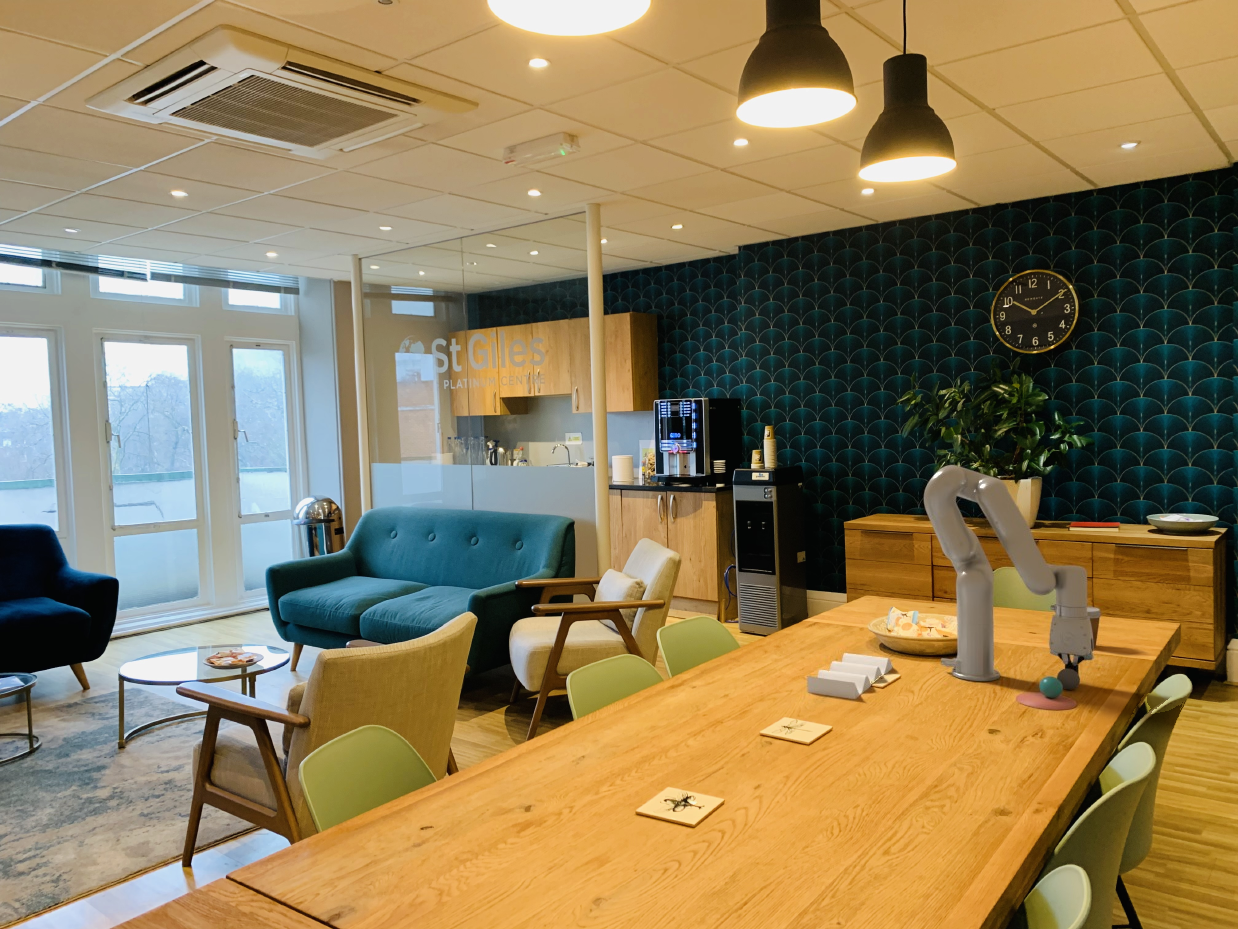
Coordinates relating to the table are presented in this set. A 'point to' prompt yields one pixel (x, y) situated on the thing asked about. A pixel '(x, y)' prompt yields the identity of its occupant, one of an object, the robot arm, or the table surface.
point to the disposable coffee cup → (1094, 622)
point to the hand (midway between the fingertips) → (1071, 678)
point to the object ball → (1051, 687)
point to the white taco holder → (849, 676)
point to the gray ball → (1068, 679)
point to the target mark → (1045, 701)
